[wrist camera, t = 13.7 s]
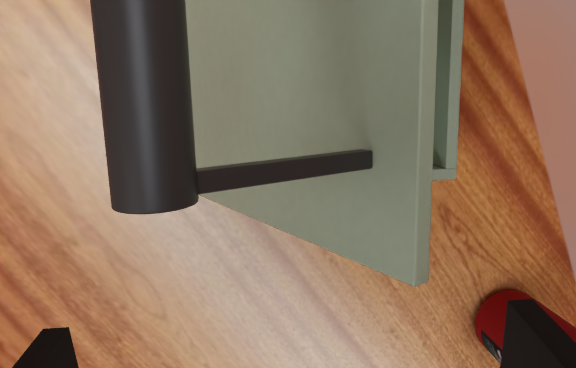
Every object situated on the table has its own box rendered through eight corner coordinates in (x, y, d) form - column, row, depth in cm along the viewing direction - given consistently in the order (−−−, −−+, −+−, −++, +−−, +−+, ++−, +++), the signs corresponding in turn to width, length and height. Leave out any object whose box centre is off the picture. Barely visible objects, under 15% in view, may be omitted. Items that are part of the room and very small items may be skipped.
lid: (447, -214, 14) (79, -408, 8) (429, 282, 17) (152, 384, 11) (189, -39, 31) (13, -64, 25) (204, 191, 34) (49, 214, 28)
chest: (428, -15, 39) (466, -38, 33) (422, 166, 42) (456, 179, 36) (195, -14, 38) (184, -38, 31) (206, 175, 41) (199, 191, 34)
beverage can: (462, 343, 46) (537, 427, 35) (480, 281, 45) (563, 346, 33) (523, 351, 47) (615, 436, 35) (542, 291, 46) (644, 358, 34)
